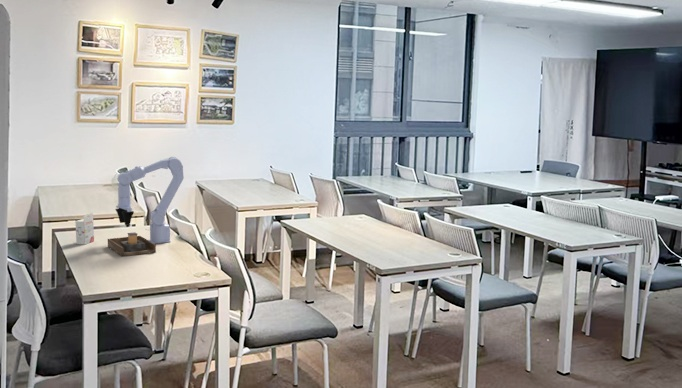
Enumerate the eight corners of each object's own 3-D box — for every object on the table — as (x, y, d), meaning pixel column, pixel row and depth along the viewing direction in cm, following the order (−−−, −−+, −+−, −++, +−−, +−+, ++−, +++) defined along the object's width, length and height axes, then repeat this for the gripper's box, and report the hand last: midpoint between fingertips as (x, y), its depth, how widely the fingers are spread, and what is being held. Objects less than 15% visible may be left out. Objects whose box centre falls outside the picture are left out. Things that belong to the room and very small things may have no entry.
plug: (135, 248, 331) (134, 232, 330) (137, 250, 328) (137, 233, 327) (127, 249, 329) (127, 233, 328) (130, 250, 326) (130, 234, 325)
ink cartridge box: (85, 240, 347) (84, 212, 344) (94, 241, 346) (93, 212, 343) (75, 244, 338) (74, 214, 336) (84, 245, 337) (84, 215, 335)
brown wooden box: (140, 243, 344) (139, 235, 343) (155, 252, 326) (155, 244, 326) (107, 246, 335) (107, 238, 334) (122, 256, 317) (121, 248, 316)
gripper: (111, 195, 343) (112, 222, 345) (121, 199, 332) (121, 227, 334) (125, 194, 347) (125, 220, 349) (135, 198, 336) (135, 225, 338)
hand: (124, 223), depth 342 cm, fingers open, 7 cm apart
